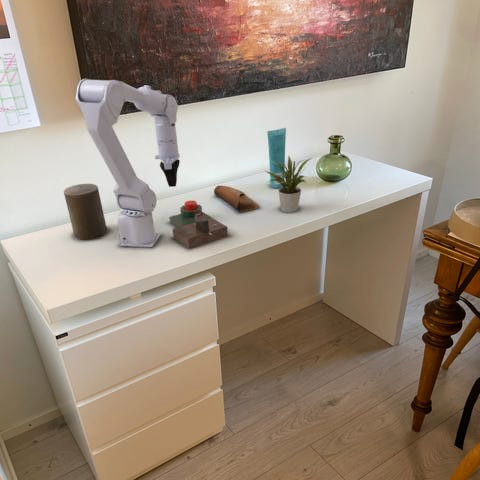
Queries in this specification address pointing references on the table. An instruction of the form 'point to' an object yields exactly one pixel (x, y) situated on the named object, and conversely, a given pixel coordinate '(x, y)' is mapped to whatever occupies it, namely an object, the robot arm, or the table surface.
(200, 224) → the dark grey red block
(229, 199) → the sunglasses case
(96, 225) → the pillar candle
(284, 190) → the house plant
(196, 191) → the table surface
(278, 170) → the tube
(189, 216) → the button box
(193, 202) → the button
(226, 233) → the console
